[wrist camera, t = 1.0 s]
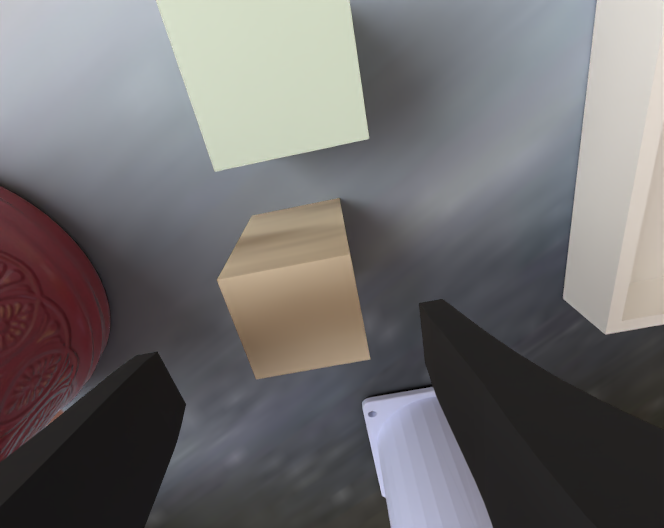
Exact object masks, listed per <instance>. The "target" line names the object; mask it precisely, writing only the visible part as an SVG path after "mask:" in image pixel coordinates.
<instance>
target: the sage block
mask: <svg viewBox="0 0 664 528" xmlns="http://www.w3.org/2000/svg"><path fill="white" fill-rule="evenodd" d="M156 2H157V5H158V8H159V11H160V14H161V17H162V20H163V23H164V26H165V28H166V31H167V34H168V37H169V40H170V43H171V46H172V49H173V52H174V55H175V58H176V60H177V63H178V66H179V69H180V72H181V75H182V78H183V81H184V84H185V87H186V90H187V92H188V95H189V98H190V101H191V104H192V107H193V110H194V113H195V116H196V119H197V122H198V124H199V127H200V130H201V133H202V136H203V139H204V142H205V145H206V148H207V151H208V154H209V156H210V159H211V162H212V165H213V168H214V171H215V172H216V171H221V170H225V169H230V168H235V167H239V166H244V165H249V164H254V163H258V162H263V161H268V160H272V159H277V158H282V157H287V156H291V155H296V154H301V153H305V152H310V151H315V150H319V149H324V148H329V147H334V146H338V145H343V144H348V143H352V142H357V141H362V140H367V139H369V134H368V127H367V120H366V113H365V106H364V99H363V92H362V85H361V78H360V71H359V64H358V57H357V50H356V43H355V36H354V29H353V22H352V15H351V8H350V1H349V0H156Z"/></svg>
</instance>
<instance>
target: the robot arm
mask: <svg viewBox="0 0 664 528" xmlns="http://www.w3.org/2000/svg"><path fill="white" fill-rule="evenodd" d="M419 308H420V318H421V328H422V337H423V347H424V357H425V364H426V367H427V370H428V373H429V376H430V379H431V382H432V385H433V387H428V388H422V389H417V390H411V391H405V392H399V393H393V394H387V395H381V396H375V397H370V398H366V399H365V400H364V401H363V402H362V408H363V413H364V417H365V422H366V426H367V431H368V435H369V440H370V444H371V449H372V453H373V458H374V462H375V466H376V471H377V475H378V480H379V484H380V489H381V493H382V496H383V497H385V498H386V501H387V507H388V513H389V519H390V525H391V528H664V430H663V429H660V428H658V427H656V426H654V425H652V424H650V423H647V422H645V421H643V420H641V419H639V418H636V417H634V416H632V415H630V414H628V413H625V412H623V411H621V410H619V409H617V408H615V407H613V406H611V405H609V404H607V403H605V402H603V401H601V400H599V399H597V398H595V397H593V396H591V395H589V394H588V393H586V392H584V391H582V390H580V389H578V388H576V387H574V386H572V385H571V384H569V383H567V382H565V381H563V380H561V379H559V378H558V377H556V376H554V375H552V374H551V373H549V372H547V371H545V370H544V369H542V368H541V367H539V366H537V365H536V364H534V363H532V362H531V361H529V360H528V359H526V358H524V357H523V356H521V355H520V354H518V353H516V352H515V351H513V350H512V349H510V348H509V347H507V346H506V345H505V344H503V343H502V342H500V341H499V340H497V339H496V338H494V337H493V336H492V335H490V334H489V333H487V332H486V331H484V330H483V329H482V328H480V327H479V326H478V325H476V324H475V323H474V322H472V321H471V320H470V319H468V318H467V317H466V316H464V315H463V314H462V313H460V312H459V311H458V310H456V309H455V308H454V307H453V306H451V305H450V304H449V303H447V302H446V301H444V300H443V299H439V300H434V301H429V302H423V303H419ZM185 406H186V403H185V402H184V400H183V398H182V396H181V394H180V392H179V390H178V389H177V387H176V385H175V383H174V381H173V379H172V378H171V376H170V374H169V372H168V370H167V368H166V367H165V365H164V363H163V361H162V359H161V357H160V356H159V354H158V352H153V353H147V354H142V355H137V356H135V357H134V358H132V359H131V360H129V361H128V362H126V363H125V364H124V365H122V366H121V367H120V368H118V369H117V370H116V371H114V372H113V373H112V374H111V375H109V376H108V377H107V378H106V379H104V380H103V381H102V382H101V383H99V384H98V385H97V386H96V387H95V388H93V389H92V390H91V391H90V392H88V393H87V394H86V395H85V396H84V397H82V398H81V399H80V400H79V401H77V402H76V403H75V404H74V405H72V406H71V407H70V408H69V409H68V410H66V411H65V412H64V413H63V414H61V415H60V416H59V417H58V418H57V419H55V420H54V421H53V422H52V423H50V424H49V425H48V426H46V427H45V428H44V429H43V430H41V431H40V432H39V433H37V434H36V435H35V436H34V437H32V438H31V439H30V440H28V441H27V442H26V443H25V444H23V445H22V446H21V447H19V448H18V449H17V450H16V451H14V452H13V453H12V454H10V455H9V456H8V457H7V458H5V459H4V460H2V461H1V462H0V528H144V527H145V524H146V522H147V519H148V517H149V514H150V511H151V509H152V506H153V504H154V501H155V498H156V496H157V493H158V491H159V488H160V486H161V483H162V480H163V478H164V475H165V473H166V470H167V467H168V465H169V462H170V459H171V457H172V454H173V451H174V449H175V446H176V443H177V440H178V436H179V432H180V428H181V424H182V420H183V415H184V411H185ZM371 411H373V412H371Z"/></svg>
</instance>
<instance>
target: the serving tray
mask: <svg viewBox="0 0 664 528" xmlns="http://www.w3.org/2000/svg"><path fill="white" fill-rule="evenodd" d="M563 299H564V300H565V301H566V302H567V303H569V304H570V305H571V306H572V307H573V308H574V309H576V310H577V311H578V312H579V313H580V314H582V315H583V316H584V317H585V318H586V319H587V320H589V321H590V322H591V323H592V324H593V325H595V326H596V327H597V328H598V329H599V330H601V331H602V332H603V333H604V334H611V333H617V332H623V331H628V330H634V329H640V328H646V327H651V326H657V325H663V324H664V0H597V4H596V13H595V22H594V31H593V39H592V48H591V57H590V65H589V74H588V83H587V92H586V100H585V109H584V118H583V127H582V135H581V144H580V153H579V161H578V170H577V179H576V188H575V196H574V205H573V214H572V222H571V231H570V240H569V249H568V257H567V266H566V275H565V283H564V292H563Z"/></svg>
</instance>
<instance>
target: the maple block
mask: <svg viewBox="0 0 664 528" xmlns="http://www.w3.org/2000/svg"><path fill="white" fill-rule="evenodd" d="M217 282H218V284H219V287H220V289H221V292H222V294H223V297H224V299H225V302H226V304H227V307H228V310H229V312H230V315H231V317H232V320H233V322H234V325H235V327H236V330H237V332H238V335H239V337H240V340H241V342H242V345H243V347H244V350H245V352H246V355H247V358H248V360H249V363H250V365H251V368H252V370H253V373H254V375H255V378H256V379H261V378H267V377H272V376H278V375H284V374H289V373H295V372H301V371H306V370H312V369H318V368H324V367H329V366H335V365H341V364H346V363H352V362H358V361H363V360H369V359H370V354H369V349H368V344H367V339H366V334H365V329H364V323H363V318H362V313H361V308H360V303H359V297H358V292H357V287H356V282H355V277H354V271H353V266H352V261H351V256H350V251H349V246H348V240H347V235H346V230H345V225H344V220H343V214H342V209H341V204H340V199H339V198H337V199H332V200H327V201H322V202H317V203H312V204H307V205H302V206H297V207H292V208H288V209H283V210H278V211H273V212H268V213H263V214H258V215H253V216H251V218H250V220H249V222H248V224H247V226H246V227H245V229H244V231H243V233H242V235H241V237H240V238H239V240H238V242H237V244H236V246H235V248H234V249H233V251H232V253H231V255H230V257H229V259H228V261H227V262H226V264H225V266H224V268H223V270H222V272H221V273H220V275H219V277H218V279H217Z"/></svg>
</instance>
